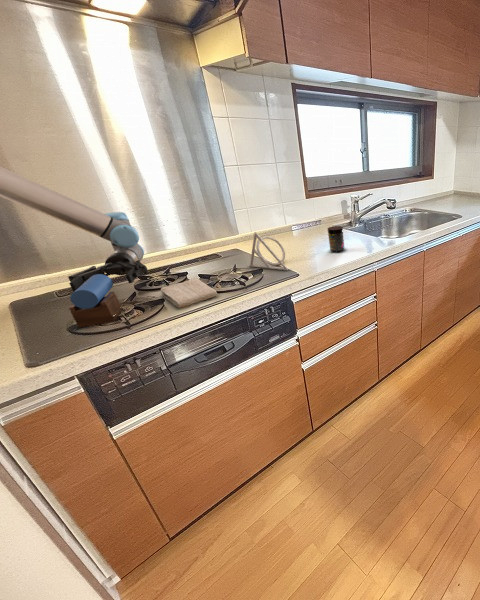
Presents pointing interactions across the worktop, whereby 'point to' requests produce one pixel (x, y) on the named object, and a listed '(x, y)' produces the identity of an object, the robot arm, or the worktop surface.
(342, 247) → the supplement container
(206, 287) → the washcloth
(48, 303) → the worktop surface
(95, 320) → the cradle
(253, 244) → the wire frame
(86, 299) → the tube
